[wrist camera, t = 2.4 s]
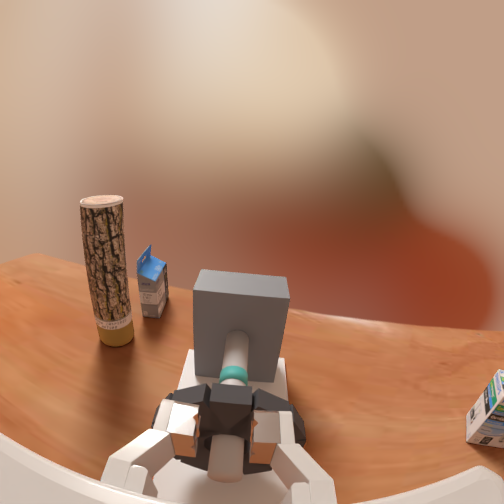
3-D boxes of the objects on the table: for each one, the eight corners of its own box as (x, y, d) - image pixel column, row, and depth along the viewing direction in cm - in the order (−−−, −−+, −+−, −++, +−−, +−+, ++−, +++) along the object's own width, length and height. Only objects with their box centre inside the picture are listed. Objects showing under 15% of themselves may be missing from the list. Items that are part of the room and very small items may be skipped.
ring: (163, 464, 25) (141, 389, 20) (166, 451, 27) (148, 372, 22) (288, 476, 25) (321, 406, 20) (287, 462, 27) (317, 388, 22)
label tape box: (159, 319, 55) (156, 262, 50) (140, 316, 55) (135, 260, 50) (169, 297, 63) (167, 245, 59) (152, 295, 63) (149, 243, 58)
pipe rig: (149, 502, 21) (109, 435, 15) (189, 352, 47) (187, 267, 41) (296, 516, 21) (344, 457, 15) (283, 361, 47) (299, 278, 41)
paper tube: (140, 341, 48) (129, 200, 39) (107, 352, 43) (84, 207, 34) (126, 322, 52) (115, 193, 43) (95, 331, 48) (76, 198, 39)
